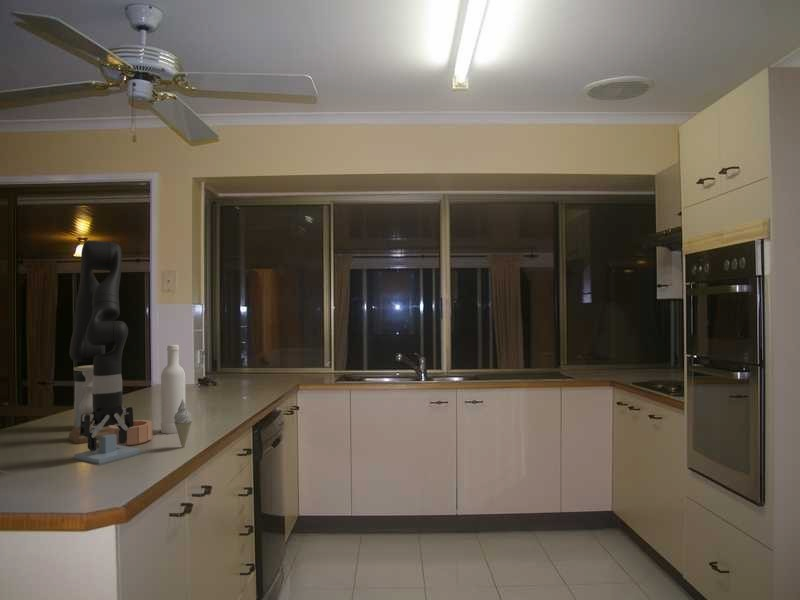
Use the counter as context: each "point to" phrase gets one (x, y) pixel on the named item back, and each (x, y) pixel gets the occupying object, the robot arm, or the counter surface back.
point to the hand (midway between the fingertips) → (107, 446)
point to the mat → (106, 462)
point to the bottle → (171, 390)
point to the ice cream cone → (182, 423)
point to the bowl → (135, 432)
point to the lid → (107, 451)
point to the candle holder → (86, 406)
